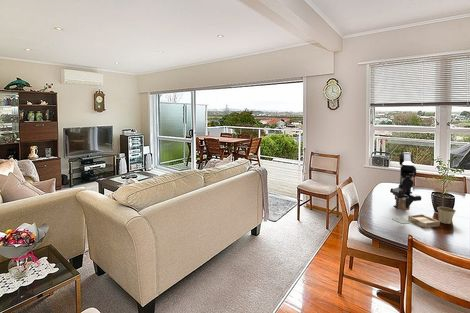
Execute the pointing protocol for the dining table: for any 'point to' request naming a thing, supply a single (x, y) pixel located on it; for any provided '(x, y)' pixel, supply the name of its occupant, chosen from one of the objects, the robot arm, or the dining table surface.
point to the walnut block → (402, 204)
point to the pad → (402, 220)
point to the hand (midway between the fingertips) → (403, 206)
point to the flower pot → (445, 214)
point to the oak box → (423, 221)
